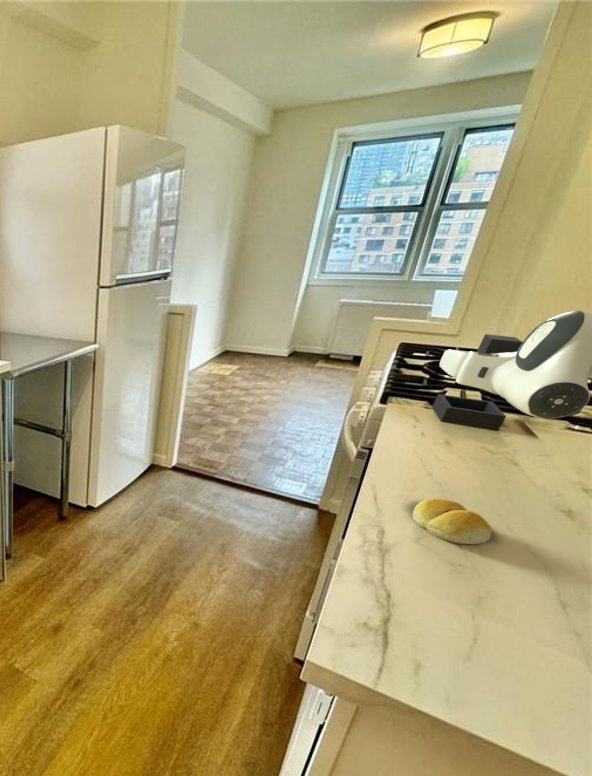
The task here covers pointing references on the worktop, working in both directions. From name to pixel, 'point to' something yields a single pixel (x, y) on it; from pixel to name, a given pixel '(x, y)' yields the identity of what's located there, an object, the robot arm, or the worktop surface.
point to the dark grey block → (499, 344)
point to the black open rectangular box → (468, 412)
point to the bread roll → (451, 521)
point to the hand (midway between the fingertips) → (491, 357)
